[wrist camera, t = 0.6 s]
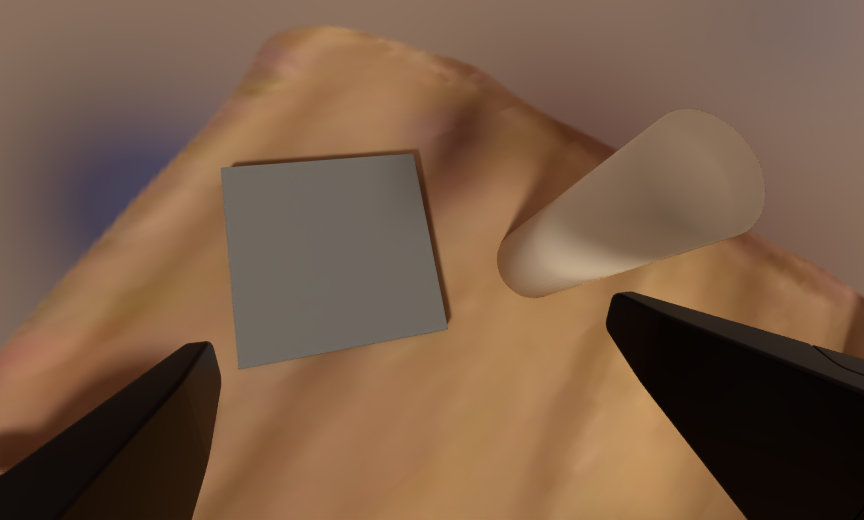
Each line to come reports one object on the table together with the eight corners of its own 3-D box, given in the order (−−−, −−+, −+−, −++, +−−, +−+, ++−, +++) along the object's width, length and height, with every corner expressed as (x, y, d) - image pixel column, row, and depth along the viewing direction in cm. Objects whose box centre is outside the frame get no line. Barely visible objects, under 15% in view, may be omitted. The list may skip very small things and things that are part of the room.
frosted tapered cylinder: (575, 256, 26) (781, 164, 14) (542, 312, 24) (739, 266, 12) (519, 215, 26) (677, 84, 13) (483, 269, 24) (622, 177, 12)
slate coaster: (444, 330, 23) (448, 329, 22) (242, 368, 20) (238, 369, 20) (411, 159, 25) (413, 153, 24) (224, 174, 22) (220, 167, 22)
